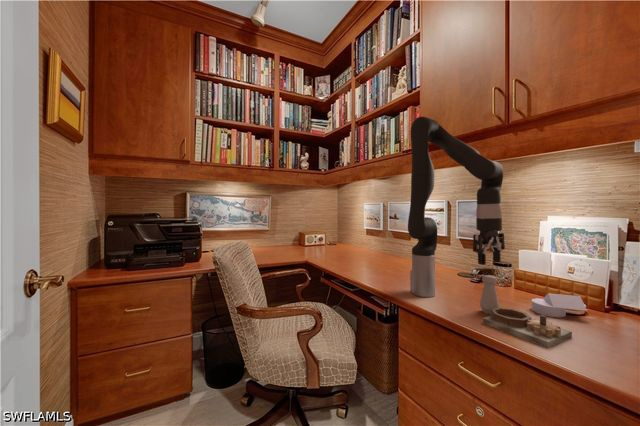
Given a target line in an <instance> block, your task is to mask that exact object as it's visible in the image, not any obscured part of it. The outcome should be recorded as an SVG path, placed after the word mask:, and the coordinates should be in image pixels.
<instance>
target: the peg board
mask: <svg viewBox="0 0 640 426" xmlns="http://www.w3.org/2000/svg"><path fill="white" fill-rule="evenodd" d="M482 324H484V325H487V326H490V327H493V328H495V329H498V330H500V331H503V332H505V333H508V334H511V335H513V336H516V337H519V338H522V339H524V340H526V341H529V342H532V343H535V344H536V345H540V346H543V347H545V348H548V349H549V348H552V347H553V346H556V345H558V344H560V343H562V342H564V341H566V340H569V339H570V338H572V337H573V331H571V330H567V329H565V328H561V326H560V325H559V324H557V325H556V324H553V322H550V321H547V316H546V315H542V314H539V319H538V318H536V319H535V318H534V319H533V318H532V317H531V316H530V315H529V314H528V313H526V312H523V311H520V310H517V309H514V308H508V307H507V308H506V307H500V308H495V309H492V310H491V315H489V316H486V317H482Z"/></svg>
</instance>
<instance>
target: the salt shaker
mask: <svg viewBox="0 0 640 426" xmlns="http://www.w3.org/2000/svg"><path fill="white" fill-rule="evenodd" d="M481 280H482V282H483V288H482V293H481V297H480V302H479V307H480V308H481V310H482V313H484V314H486V315H489V316H491V310H492V309H495V308H501V307H500V303H499V297H498V294H497V289H496V284H497V282H498V279H497V277H496V276H494V275H490V274H484V275H483V276H482V277H481Z"/></svg>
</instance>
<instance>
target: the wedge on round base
mask: <svg viewBox="0 0 640 426" xmlns="http://www.w3.org/2000/svg"><path fill="white" fill-rule="evenodd" d="M567 309H568V310H577V311H585V312H588V309H587V307H586V305H585V303H584V301H583V299H582V297H581V296H580V295H570V294H562V293H559V294H558V293H549V292H548V293H547V294H546V295H545V296H544V297H543V298H537V297H536V298H532V299H531V310H532V311H533V312H534V313H536V314H538V315H544V316H546V317H551V318H552V317H553V318H565V317H566V316H567Z"/></svg>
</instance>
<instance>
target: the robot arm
mask: <svg viewBox="0 0 640 426" xmlns="http://www.w3.org/2000/svg"><path fill="white" fill-rule="evenodd" d="M410 143H411V176H410V177H411V179H410V204H409V213H408V220H407V231H408V235H409V237H411V238H412V239H413V240H417V243H416V244H415V245H414V246H413V247H412V248H411V270H410V274H409V275H410V277H409V279H410V281H409V282H410V289H409V290H410V293H412V294H413V295H414V296H417V297H420V298H421V297H422V298H432V297H436V257H435V256H436V249H437V246H438V225H437V222H436V220H434V219H433V218H431V217H425V215H426V214H425V213H426V206H427V203H428V200H429V199H430V197H431V195H432V192H433V190H434V187H435V167H434V165H433V162H432V159H431V156H430V152H429V143H431V144H433V145H435V146H437V147H439V148H440V149H441V150H442V151H443V152H444V153H445V154H446V155H447V156H448V157H449V158H450V159H452V161H454V162H455V163H457V164H459V165H460V166H462V167H464V169H465V170H467V171H468V172H469V174H470V175H472V176H473V177H475V178H476V179H478V180H481V183H480V188H478V189H477V192H476V210H475V213H476V215H475V216H476V217H475V218H476V222H475V223H476V224H475V225H476V229H475V230H477V231H479V233H478V234H473V235H472V251H473V252H475V253H476V254H477V263H478V265H481V266H486V265H487V260H486V259H487V257H486V253H487V250H489V249H490V247H491V249H492V262H494V263H501V253H502V251H504V250H505V249H506V247H505V234H504V232H501V231H503V211H502V206H501V205H502V204H501V203H502V201H501V189H502V185H503V181H504V168H503V165H502V164H501V163H500V162H499V161H495V160H491V159H488V158H487V157H485V156H483V155H482V154H480V152H479V151H478V150H477V149H475V148H473V147H472V146H471V145H469V144H467V143H466V142H464V141H462V140H460V139H458V137H455V136H453V135H452V134H451V133H449V132H448V131H447V130H446V129H445V128H444V127H442V125H441V124H440V123H439V122H437V121H436V120H435V119H432V118H430V117H426V116H418V117H417V118H415V119H414V120H413V121H412V124H411V126H410Z"/></svg>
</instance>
